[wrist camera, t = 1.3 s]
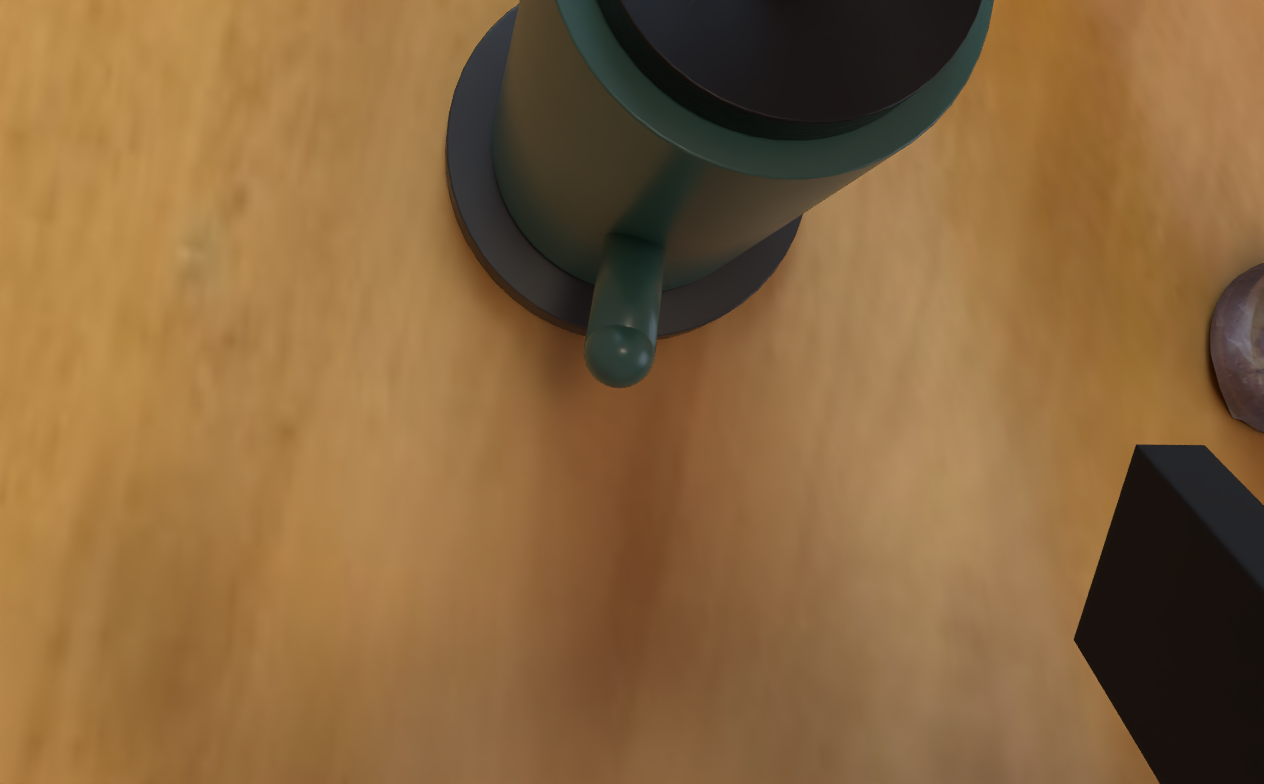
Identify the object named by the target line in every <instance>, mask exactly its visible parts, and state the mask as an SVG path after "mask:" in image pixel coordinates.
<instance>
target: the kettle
mask: <svg viewBox="0 0 1264 784" xmlns="http://www.w3.org/2000/svg"><path fill="white" fill-rule="evenodd" d="M993 2H994V0H520V3H519V7H518V12H517V16H516V21H515V25H514V30H513V34H512V39H511V43H510V48H509V52H508V57H507V61H506V66H505V70H504V75H503V79H502V84H501V88H500V93H499V97H498V102H497V106H496V111H495V115H494V121H493V131H492V158H493V164H494V170H495V175H496V179H497V182H498V186H499V189H500V192H501V195H502V197H503V199H504V202H505V204H506V206H507V208H508V210H509V213H510V214H511V216H512V217H513V219H514V221H515V222H516V224H517V225H518V227H519V229H520V230H521V231H522V232H523V234H524V235H525V236H526V237H527V239H528V240H529V241H530V242H531V244H532V245H533V246H535V247H536V248H537V249H538V250H539V251H540V252H541V253H542V254H543V255H544V256H545V257H546V258H547V259H549V260H550V261H551V262H553V263H554V264H555V265H557V266H558V267H560V268H561V269H562V270H564V271H566V272H568V273H570V274H571V275H573V276H575V277H577V278H579V279H581V280H584V281H586V282H589V283H591V284H594V285H595V289H594V294H593V300H592V306H591V311H590V317H589V323H588V328H587V334H586V340H585V345H584V359H585V362H586V366H587V368H588V370H589V371H590V373H591V374H592V376H593V377H594V378H595V379H596V380H598V381H599V382H601V383H602V384H604V385H606V386H609V387H613V388H625V387H630V386H632V385H635V384H637V383H639V382H640V381H641V380H642V379H644V378H645V377H646V376H647V374H648V373H649V371H650V370H651V368H652V366H653V363H654V359H655V352H656V342H657V332H658V323H659V313H660V303H661V294H662V291H665V290H671V289H675V288H678V287H682V286H685V285H688V284H691V283H693V282H695V281H697V280H700V279H702V278H704V277H706V276H707V275H709V274H711V273H712V272H714V271H716V270H717V269H719V268H720V267H722V266H723V265H725V264H726V263H728V262H730V261H731V260H733V259H734V258H736V257H737V256H739V255H740V254H742V253H743V252H745V251H746V250H748V249H749V248H751V247H753V246H754V245H756V244H757V243H759V242H760V241H762V240H763V239H765V238H766V237H768V236H769V235H771V234H773V233H774V232H776V231H777V230H779V229H780V228H782V227H783V226H785V225H786V224H788V223H789V222H791V221H792V220H794V219H796V218H797V217H799V216H800V215H802V214H803V213H805V212H806V211H808V210H809V209H811V208H812V207H814V206H816V205H817V204H819V203H820V202H822V201H823V200H825V199H826V198H828V197H829V196H831V195H832V194H834V193H835V192H837V191H839V190H840V189H842V188H843V187H845V186H846V185H848V184H849V183H851V182H852V181H854V180H855V179H857V178H859V177H860V176H862V175H863V174H865V173H866V172H868V171H869V170H871V169H872V168H874V167H875V166H877V165H878V164H880V163H882V162H883V161H885V160H886V159H888V158H889V157H891V156H892V155H894V154H895V153H897V152H898V151H900V150H902V149H903V148H905V147H906V146H908V145H909V144H911V143H912V142H913V141H915V140H916V139H917V138H918V137H919V136H921V135H922V134H923V133H924V132H925V131H927V130H928V129H929V128H930V127H931V126H933V125H934V124H935V122H936V121H937V120H938V119H939V118H940V117H941V116H942V115H943V114H944V112H945V111H946V110H947V109H948V108H949V107H950V106H951V105H952V103H953V102H954V100H955V99H956V97H957V96H958V94H959V93H960V91H961V90H962V88H963V87H964V85H965V84H966V82H967V81H968V79H969V77H970V75H971V72H972V70H973V68H974V66H975V64H976V62H977V60H978V58H979V56H980V53H981V50H982V47H983V44H984V41H985V38H986V35H987V32H988V28H989V23H990V18H991V13H992V7H993Z"/></svg>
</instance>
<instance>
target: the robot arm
mask: <svg viewBox="0 0 1264 784" xmlns="http://www.w3.org/2000/svg"><path fill="white" fill-rule="evenodd" d="M1074 641H1075V643H1076V644H1077V646H1078V648H1079V649H1080V651H1081V653H1082V654H1083V656H1084V658H1085V659H1086V661H1087V663H1088V664H1089V666H1090V668H1091V669H1092V671H1093V673H1094V674H1095V676H1096V678H1097V679H1098V681H1099V683H1100V684H1101V686H1102V688H1103V689H1104V691H1105V693H1106V694H1107V696H1108V698H1109V699H1110V701H1111V703H1112V704H1113V706H1114V708H1115V709H1116V711H1117V713H1118V714H1119V716H1120V718H1121V719H1122V721H1123V723H1124V724H1125V726H1126V728H1127V729H1128V731H1129V733H1130V734H1131V736H1132V738H1133V739H1134V741H1135V743H1136V744H1137V746H1138V748H1139V749H1140V751H1141V753H1142V754H1143V756H1144V758H1145V759H1146V761H1147V763H1148V764H1149V766H1150V768H1151V769H1152V771H1153V773H1154V774H1155V776H1156V778H1157V779H1158V781H1159V783H1160V784H1264V505H1263V504H1262V503H1261V502H1260V501H1259V500H1258V499H1257V498H1256V497H1255V496H1254V495H1253V494H1252V493H1251V492H1250V491H1249V490H1248V489H1247V488H1246V487H1245V486H1244V485H1243V484H1242V483H1241V482H1240V481H1239V480H1238V479H1237V478H1236V477H1235V476H1234V475H1233V474H1232V473H1231V472H1230V471H1229V470H1228V469H1227V468H1226V467H1225V466H1224V465H1223V464H1222V463H1221V462H1220V461H1219V460H1218V459H1217V458H1216V457H1215V455H1214V454H1213V453H1212V452H1211V451H1210V450H1209V449H1208V448H1207V447H1206V446H1205V445H1136V447H1135V450H1134V453H1133V456H1132V459H1131V462H1130V465H1129V469H1128V472H1127V475H1126V478H1125V481H1124V484H1123V487H1122V490H1121V494H1120V497H1119V500H1118V503H1117V506H1116V509H1115V512H1114V515H1113V519H1112V522H1111V525H1110V528H1109V531H1108V534H1107V537H1106V540H1105V544H1104V547H1103V550H1102V553H1101V556H1100V559H1099V562H1098V565H1097V569H1096V572H1095V575H1094V578H1093V581H1092V584H1091V587H1090V590H1089V594H1088V597H1087V600H1086V603H1085V606H1084V609H1083V612H1082V615H1081V619H1080V622H1079V625H1078V628H1077V631H1076V634H1075V637H1074Z"/></svg>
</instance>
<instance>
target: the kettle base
mask: <svg viewBox="0 0 1264 784" xmlns="http://www.w3.org/2000/svg"><path fill="white" fill-rule="evenodd" d="M518 7H519V4H518V5H517V6H515V7H514V8H513V9H511V10H510V11H508V12H507V13H506V14H505V15H504V16H503V17H502V18H501V19H500V20H499V21H498V22H497V23H496V24H495V25H494V26H492V27H491V28H490V30H489V31H488V32H487V33H486V35H485V36H484V37H483V38H482V40H481V41H480V42H479V44H478V45H477V46H476V47H475V49H474V51H473V53H472V54H471V56H470V58H469V60H468V61H467V63H466V65H465V67H464V68H463V71H462V73H461V76H460V78H459V81H458V83H457V86H456V88H455V91H454V95H453V99H452V103H451V108H450V112H449V118H448V128H447V137H446V148H445V155H446V176H447V182H448V188H449V194H450V199H451V202H452V205H453V209H454V212H455V215H456V218H457V221H458V223H459V226H460V228H461V230H462V232H463V234H464V237H465V239H466V241H467V243H468V245H469V246H470V248H471V249H472V251H473V253H474V254H475V256H476V257H477V259H478V261H479V262H480V264H481V265H482V266H483V267H484V269H485V270H486V271H487V272H488V274H489V275H490V276H491V277H492V278H493V280H494V281H495V282H496V283H497V284H498V285H499V286H500V287H501V288H502V289H503V290H504V291H505V292H506V293H508V294H509V295H510V296H511V297H512V298H513V299H514V300H515V301H517V302H518V303H520V304H521V305H522V306H524V307H525V308H526V309H528V310H529V311H530V312H532V313H533V314H535V315H537V316H539V317H541V318H542V319H544V320H546V321H548V322H550V323H552V324H553V325H556V326H558V327H561V328H563V329H566V330H568V331H571V332H574V333H576V334H580V335H584V336H586V334H587V328H588V323H589V317H590V311H591V306H592V300H593V294H594V289H595V285H594V284H591V283H589V282H586V281H584V280H581V279H579V278H577V277H575V276H573V275H571V274H570V273H568V272H566V271H564V270H562V269H561V268H560V267H558V266H557V265H555V264H554V263H553V262H551V261H550V260H549V259H547V258H546V257H545V256H544V255H543V254H542V253H541V252H540V251H539V250H538V249H537V248H536V247H535V246H533V245H532V244H531V242H530V241H529V240H528V239H527V237H526V236H525V235H524V234H523V232H522V231H521V230H520V229H519V227H518V225H517V224H516V222H515V221H514V219H513V217H512V216H511V214H510V213H509V210H508V208H507V206H506V204H505V202H504V199H503V197H502V195H501V192H500V189H499V186H498V182H497V179H496V175H495V170H494V164H493V158H492V131H493V121H494V115H495V111H496V106H497V102H498V97H499V93H500V88H501V84H502V79H503V75H504V70H505V66H506V61H507V57H508V52H509V48H510V43H511V39H512V34H513V30H514V25H515V21H516V16H517V12H518ZM802 215H803V214H802ZM802 215H800V216H799V217H797V218H796V219H794V220H792V221H791V222H789V223H788V224H786V225H785V226H783V227H782V228H780V229H779V230H777V231H776V232H774V233H773V234H771V235H769V236H768V237H766V238H765V239H763V240H762V241H760V242H759V243H757V244H756V245H754V246H753V247H751V248H749V249H748V250H746V251H745V252H743V253H742V254H740V255H739V256H737V257H736V258H734V259H733V260H731V261H730V262H728V263H726V264H725V265H723V266H722V267H720V268H719V269H717V270H716V271H714V272H712V273H711V274H709V275H707V276H706V277H704V278H702V279H700V280H697V281H695V282H693V283H691V284H688V285H685V286H682V287H678V288H675V289H671V290H665V291H662V294H661V303H660V313H659V323H658V332H657V340H658V339H665V338H670V337H673V336H677V335H680V334H683V333H687V332H690V331H692V330H694V329H697V328H699V327H701V326H703V325H706V324H708V323H710V322H712V321H714V320H716V319H718V318H720V317H722V316H724V315H725V314H727V313H728V312H730V311H732V310H733V309H735V308H736V307H738V306H739V305H741V304H742V303H743V302H744V301H746V300H747V299H748V298H749V297H750V296H752V295H753V294H754V293H755V292H756V291H758V289H759V288H760V287H761V286H762V285H763V284H764V283H765V282H766V281H767V279H768V278H769V277H770V276H771V275H772V274H773V273H774V271H775V270H776V268H777V267H778V265H779V264H780V262H781V261H782V260H783V258H784V257H785V255H786V253H787V251H788V249H789V247H790V245H791V243H792V241H793V239H794V237H795V235H796V233H797V230H798V227H799V224H800V221H801V218H802Z"/></svg>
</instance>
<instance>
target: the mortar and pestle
mask: <svg viewBox="0 0 1264 784" xmlns="http://www.w3.org/2000/svg"><path fill="white" fill-rule="evenodd" d="M1210 349H1211V357H1212V361H1213V365H1214V368H1215V372H1216V376H1217V379H1218V383H1219V387H1220V390H1221V392H1222V394H1223V397H1224V399H1225V401H1226V404H1227V406H1228V408H1229V411H1230V413H1231V415H1232V418H1235V419H1239V420H1242V421H1244V422H1245V423H1247V424H1248V425H1250V426H1251V427H1253V428H1254V429H1256V430H1258V431H1261V432H1264V263H1263V264H1259V265H1257V266H1255V267H1253V268H1251V269H1249V270H1248V271H1246V272H1245V273H1243V274H1241V275H1240V276H1238V277H1237V278H1236V279H1235V280H1234V281H1232V283H1231V284H1230V285H1229V286H1228V287H1227V288H1226V289H1225V291H1224V292H1223V294H1222V296H1221V297H1220V299H1219V301H1218V303H1217V306H1216V309H1215V312H1214V314H1213V317H1212V323H1211V331H1210Z"/></svg>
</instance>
